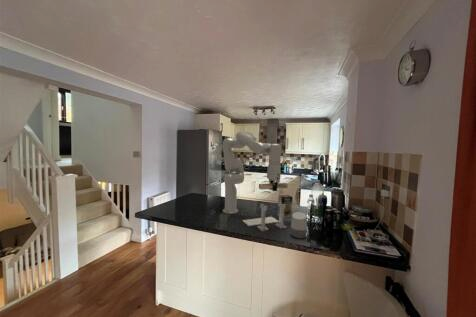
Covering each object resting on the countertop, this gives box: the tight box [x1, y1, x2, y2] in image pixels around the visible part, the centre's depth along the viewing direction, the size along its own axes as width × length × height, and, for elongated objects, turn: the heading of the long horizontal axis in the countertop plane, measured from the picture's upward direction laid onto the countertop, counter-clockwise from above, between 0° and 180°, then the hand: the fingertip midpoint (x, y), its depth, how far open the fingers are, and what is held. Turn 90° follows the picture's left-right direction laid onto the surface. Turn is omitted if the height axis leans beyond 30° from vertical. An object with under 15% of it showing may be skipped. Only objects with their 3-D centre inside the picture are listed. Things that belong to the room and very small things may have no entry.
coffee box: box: [277, 194, 294, 219], centre depth 160 cm, size 9×6×16 cm
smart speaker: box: [290, 211, 308, 240], centre depth 125 cm, size 10×9×14 cm
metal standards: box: [256, 202, 288, 232], centre depth 138 cm, size 6×19×16 cm, turn 112°
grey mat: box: [242, 216, 279, 227], centre depth 148 cm, size 10×24×1 cm, turn 112°
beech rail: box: [258, 182, 288, 190], centre depth 136 cm, size 3×20×3 cm, turn 112°
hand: (273, 190), depth 137 cm, fingers closed on beech rail, 3 cm apart
